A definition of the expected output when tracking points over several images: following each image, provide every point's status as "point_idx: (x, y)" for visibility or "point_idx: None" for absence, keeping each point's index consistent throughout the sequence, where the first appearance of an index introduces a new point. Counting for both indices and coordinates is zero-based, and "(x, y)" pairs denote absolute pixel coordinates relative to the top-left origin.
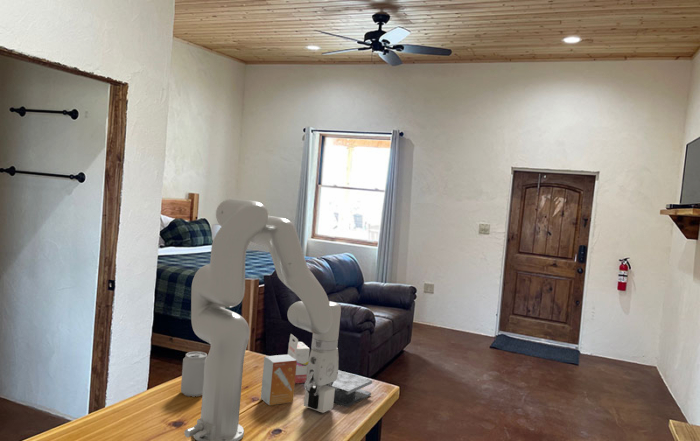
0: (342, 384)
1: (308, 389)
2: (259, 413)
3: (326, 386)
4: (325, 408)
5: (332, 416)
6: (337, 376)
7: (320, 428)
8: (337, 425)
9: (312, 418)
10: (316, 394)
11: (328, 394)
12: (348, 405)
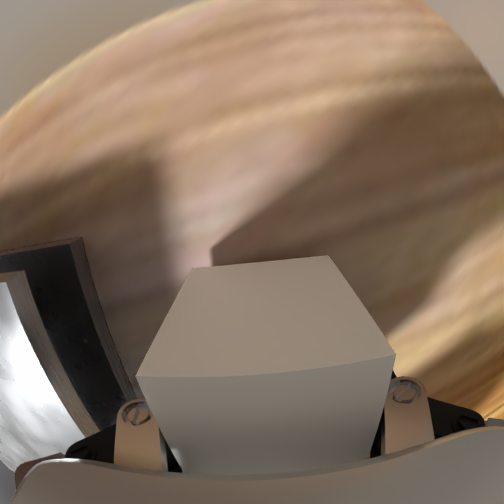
0: (3, 383)
1: (491, 424)
2: (466, 405)
3: (199, 450)
4: (301, 268)
5: (278, 191)
6: (24, 483)
7: (465, 132)
8: (366, 72)
9: (404, 258)
10: (399, 388)
11: (290, 336)
12: (60, 242)
